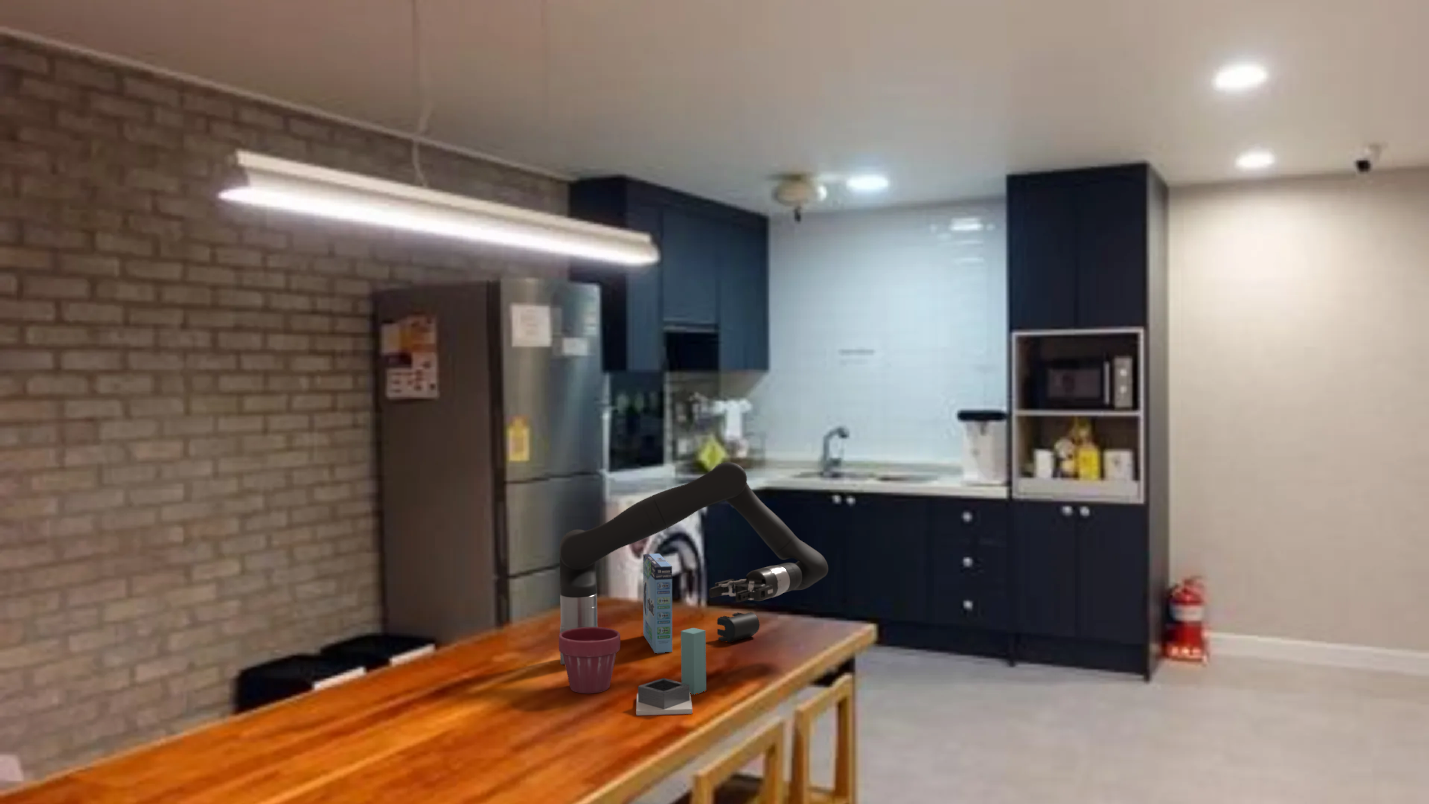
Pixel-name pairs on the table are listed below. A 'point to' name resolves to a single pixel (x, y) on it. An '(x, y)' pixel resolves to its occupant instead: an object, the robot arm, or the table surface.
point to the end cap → (738, 626)
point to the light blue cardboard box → (657, 602)
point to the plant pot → (589, 657)
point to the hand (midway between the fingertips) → (723, 595)
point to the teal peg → (693, 659)
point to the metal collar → (663, 693)
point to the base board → (677, 709)
